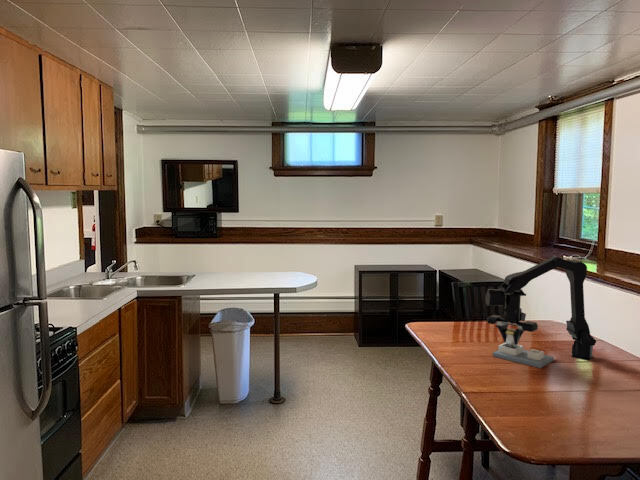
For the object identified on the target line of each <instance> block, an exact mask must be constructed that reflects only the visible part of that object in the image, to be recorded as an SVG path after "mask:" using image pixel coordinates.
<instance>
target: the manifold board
mask: <svg viewBox="0 0 640 480" xmlns="http://www.w3.org/2000/svg"><path fill="white" fill-rule="evenodd" d="M492 357H494V358H498V359H502V360H506V361H511V362H515V363H518V364H521V365H526V366H530V367H535V368H538V369H542V368H543V367H545V366H547V365H548V364H550V363H551V362H554V356H551V355H548V354H545V351H543V350H538V349H534V348H531V349H530V350H527V349H526V350H525V349H524V345H521V344H517V345H516V348H515V349H513V348H509V347H506V343H505V342H503V343H501V344H499V345H498V349H497V350H496V351H493V352H492Z"/></svg>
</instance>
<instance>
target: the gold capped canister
mask: <svg viewBox="0 0 640 480" xmlns="http://www.w3.org/2000/svg"><path fill="white" fill-rule="evenodd" d="M516 329H517V328H508V327H507V329H505V333H506V347H509V348H513V349H515V348H516V345H515V330H516Z"/></svg>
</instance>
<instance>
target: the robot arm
mask: <svg viewBox="0 0 640 480" xmlns="http://www.w3.org/2000/svg"><path fill="white" fill-rule="evenodd" d="M556 268H559V269H563V270H564V271H565V275H566V277H567V280H568V282H569V286H570V287H569V288H570V306H571V307H570V310H571V313H570V314H571V318H570V319H569V320H566V321H565V323H566V329H565V330H566V331H568V334H569V335H570V336H571V339H572V341H573V344H571V357H572V358H575V359H580V360H584V361H590V360H592V359H593V358H594V355H593V351H594V350H593V346H595V345H596V344H597V340H596V339H595V338H594V336H592V335H591V330H590V325H589V324H588V322H587V319H586V317H585V315H586V314H585V297H584V296H585V295H584V282H585V280H586V278H587V275H588V274H587V272H588V266H587V264H585V262H582V261H579V260H575V259H570V260H567V259H563V258H561V257H559V256H554V255H553V256H550V257H549V258H547V259H545V260H544V261H541V262H539V263H538V264H535V265H534V266H531V267H529V268H528V269H526V270H523V271H519V272H518V271H517V272H513V273H511V274H508V275H506V276H505V277H504V281H503V282H502V284H501V285H500V286H499V287H498V289H495V288H494V289H493V288H487V292H486V294H485V297H484V298H485V299H484V300H485V303H486V306H488V307H491V306H493V307H503V305H504V308H503V312H504V318H503V316H502V315H498V314H492V315H490V316H488V317H487V319H486V320H487V321H486V322H487V324H491V325H495V327H496V328H497V329H498V331H499V332H500V334H501V336H502V339H503V343H506V333H505V329H508V327H509V326H513V327H514V326H515V327H517V328H515V329H516V330H515V345H519V341H520V339H521V338H522V335H523V333H524V332H529V333H530V332H531V333H532V332H534V331H537V330H538V329H539V327H538V326H539V325H538V323H537V322H536V321H530V320H527V321H526V317H527V313H525V312H522V310H523V309H522V308H521V297H525V296H527V293H525V292H524V291H523V288H524V287H527V285H528V284H529V283H530V282H531V281H533V280H534V279H536V278H538V277H540V276H542V275H545V274H546V273H548V272H551V271H552V270H555V269H556Z"/></svg>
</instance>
